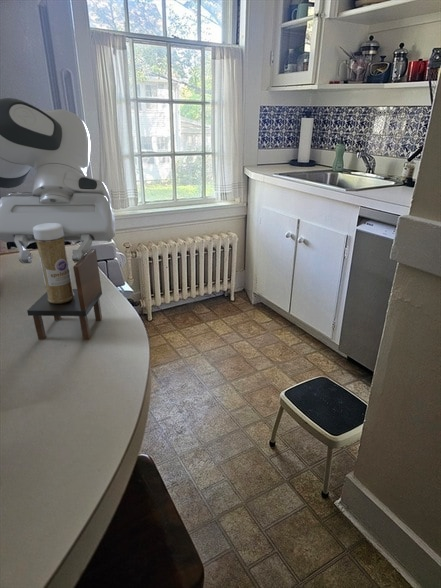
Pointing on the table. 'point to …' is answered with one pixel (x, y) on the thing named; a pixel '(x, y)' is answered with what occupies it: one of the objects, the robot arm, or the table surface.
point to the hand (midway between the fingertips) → (51, 261)
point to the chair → (81, 302)
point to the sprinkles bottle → (54, 262)
